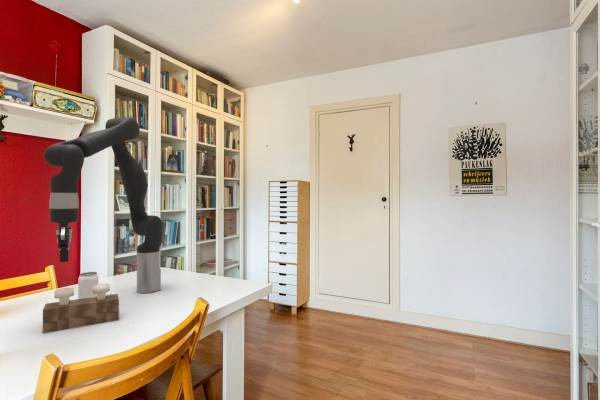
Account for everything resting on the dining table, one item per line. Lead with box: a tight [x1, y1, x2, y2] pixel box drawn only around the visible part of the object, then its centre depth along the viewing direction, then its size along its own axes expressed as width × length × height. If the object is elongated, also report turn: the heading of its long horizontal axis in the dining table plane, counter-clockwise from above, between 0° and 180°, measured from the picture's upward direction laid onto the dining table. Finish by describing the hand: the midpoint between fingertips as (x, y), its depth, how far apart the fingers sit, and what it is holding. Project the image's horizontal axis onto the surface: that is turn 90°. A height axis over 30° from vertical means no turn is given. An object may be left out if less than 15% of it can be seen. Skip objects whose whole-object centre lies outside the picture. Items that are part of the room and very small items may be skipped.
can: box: [77, 271, 99, 299], centre depth 122 cm, size 6×6×12 cm
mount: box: [42, 293, 120, 334], centre depth 104 cm, size 20×7×7 cm, turn 122°
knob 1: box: [54, 287, 75, 306], centre depth 102 cm, size 5×5×8 cm
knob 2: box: [92, 282, 111, 300], centre depth 107 cm, size 5×5×8 cm
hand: (64, 261), depth 102 cm, fingers closed
